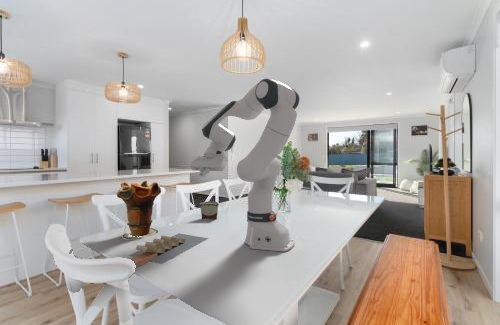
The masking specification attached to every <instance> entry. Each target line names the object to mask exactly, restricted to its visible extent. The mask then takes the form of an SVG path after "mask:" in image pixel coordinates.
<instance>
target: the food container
mask: <svg viewBox="0 0 500 325" xmlns="http://www.w3.org/2000/svg"><path fill="white" fill-rule="evenodd" d="M219 207H220V205H219V202H218V201H203V202H200V203H199V208H200V216H201V219H202V220H218V213H219V211H218V210H219Z"/></svg>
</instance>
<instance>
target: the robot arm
mask: <svg viewBox="0 0 500 325" xmlns="http://www.w3.org/2000/svg"><path fill="white" fill-rule="evenodd" d="M299 103H300V95H299V93H298V92H297V91H296V90H295V89H294V88H292V87H289V86H288V85H287V84H285V83H282V82H280V81H276V80H275V79H272V78H263V79H260V81H259V82H258V83H256V84H255V85H253V87H251V88H250V90H248V92H247V93H246V94H245V95H244V96H243V97H242V98H240V99H239V100H231V101H230V102H229V103H228V104H226V105H225V106H224V107H223V108H221V110H220V111H219V112H217V113H216V114H215V115H214V116H213V117H211V118H210V119H209V120H207V121H206V122H205V123H204V125H203V126H202V128H201V132H202V135H203V137H205V138H206V139H208V140H210V144H209V146H208V147H207V148H206V150H205V151H204V154H203V155H199V156H196V157H195V158H194V159H192V161H191V162H190V164H189V168H190V169H191V170H192V171H194V172H195V171H198V177H201V178H202V177H206V176H207V174H209V173H210V172H223V171H224V170H225V169H226V166H227V162H228V158H227V156H226V154H225V153H224V152H228V151H230V150H231V149H233V146H234V144H235V143H236V134H235V133H234V132H232V131H230V130H229V129H227V128H226V127H225V126H223V125H222V124H221V122H223V121H224V120H225V119H226V118H227V117H236V118H239V119H240V120H241V119H242V120H245V121H251V120H255V119H257V118H258V117H259V115H261V114H262V113H263V111H264V110H269V111H270V115H269V119H268V121H267V122H266V124H265V127H264V129H263V131H262V134H261V135H260V138H259V139H258V141H257V143H256V144H255V146H254V147H253V148H252V149H251V150H250V152H248V154H247V155H246V156H245V157H244V158H242V159H240V161H238V163H237V165H236V174H237V177H239V179H240V180H241V181H244V182H248V183H253V185H252V187H251V189H250V191H249V192H248V194H247V211H246V221H247V229H246V234H245V235H246V236H245V240H244V242H245V244H246V245H247V246H248V247H249V249H252V250H262V251H275V252H287V251H290V250H292V249H293V248H294V246H295V245H296V244H295V243H296V242H295V239H294V238H291V236H290V232H289V229H288V228H287V227H286V226H285V225H284V224H282V223H281V222H280V221H279V220H278V219H277V216H278V212H275V211H274V210H273V194H274V192H273V191H274V188H275V184H276V180H277V177H278V176H279V174H280V172H281V168H282V167H281V163H280V161H279V160H278V159H277V157H278V156H279V155H280V154H281V153H282V152H283V150H284V148H285V146H286V144H287V142H288V140H289V139H290V136H291V134H292V133H293V130H294V128H295V124H296V121H297V117H298V112H297V111H296V109H298V108H297V107H298V106H299Z"/></svg>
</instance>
